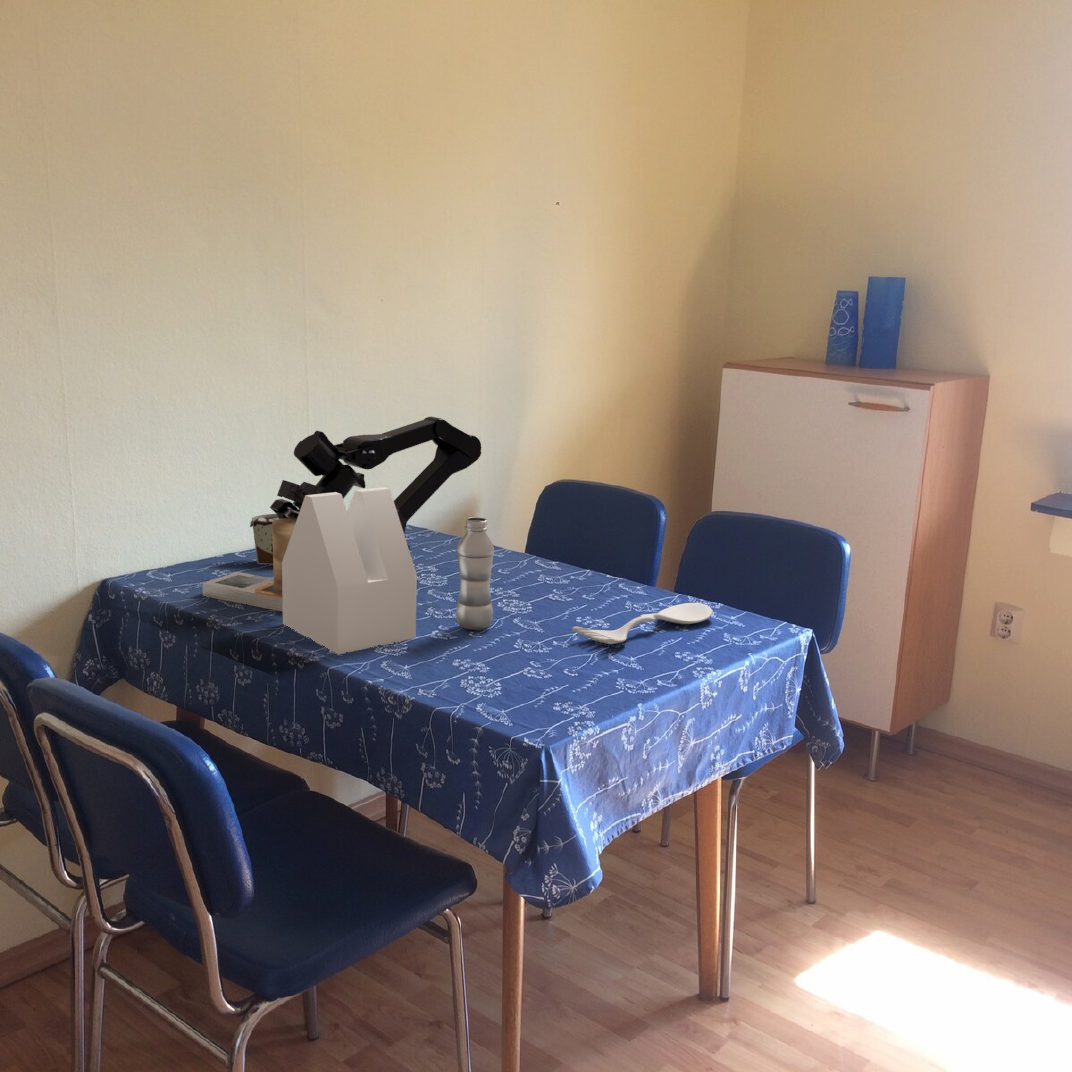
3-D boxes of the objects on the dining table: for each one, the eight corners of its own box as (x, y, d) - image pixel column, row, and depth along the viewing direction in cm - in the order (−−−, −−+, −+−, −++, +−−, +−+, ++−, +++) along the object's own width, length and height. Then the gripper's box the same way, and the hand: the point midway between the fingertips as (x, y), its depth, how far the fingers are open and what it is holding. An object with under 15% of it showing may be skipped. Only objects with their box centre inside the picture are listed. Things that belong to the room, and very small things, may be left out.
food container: (315, 559, 242) (315, 515, 239) (307, 567, 236) (306, 521, 233) (260, 556, 243) (259, 511, 240) (250, 563, 237) (249, 517, 234)
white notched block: (415, 638, 193) (417, 497, 187) (338, 655, 183) (337, 506, 177) (357, 611, 207) (358, 479, 201) (282, 625, 197) (280, 486, 192)
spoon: (569, 643, 194) (570, 624, 193) (684, 611, 215) (685, 593, 215) (607, 657, 187) (608, 638, 186) (721, 622, 209) (723, 604, 208)
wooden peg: (304, 585, 212) (303, 519, 209) (296, 592, 207) (295, 524, 204) (278, 584, 212) (276, 517, 209) (270, 591, 207) (268, 523, 204)
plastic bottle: (495, 633, 197) (498, 523, 192) (456, 634, 195) (459, 523, 191) (490, 622, 203) (493, 515, 198) (453, 623, 202) (455, 515, 197)
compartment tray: (324, 600, 212) (324, 586, 212) (292, 613, 204) (291, 598, 203) (237, 584, 221) (237, 570, 220) (202, 595, 212) (202, 581, 211)
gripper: (278, 457, 213) (227, 520, 209) (330, 472, 200) (277, 540, 195) (314, 493, 220) (265, 555, 216) (367, 509, 207) (317, 576, 202)
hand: (280, 555), depth 207 cm, fingers closed on wooden peg, 5 cm apart
